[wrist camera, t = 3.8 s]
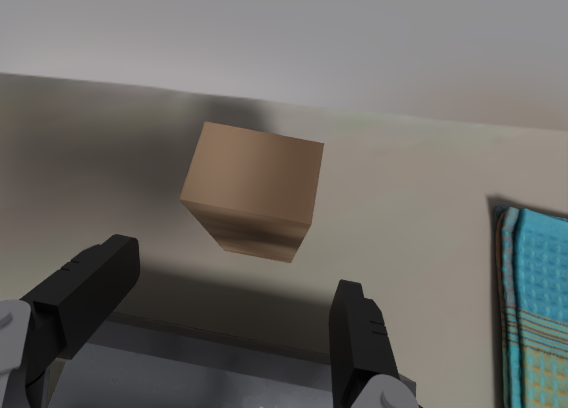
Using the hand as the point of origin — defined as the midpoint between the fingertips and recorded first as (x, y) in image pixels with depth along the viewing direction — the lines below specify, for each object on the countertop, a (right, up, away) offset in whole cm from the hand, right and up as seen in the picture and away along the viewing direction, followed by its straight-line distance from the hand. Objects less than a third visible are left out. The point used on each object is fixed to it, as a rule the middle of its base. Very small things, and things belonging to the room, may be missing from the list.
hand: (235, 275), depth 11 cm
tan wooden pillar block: (0, 0, +10) cm, 10 cm away
